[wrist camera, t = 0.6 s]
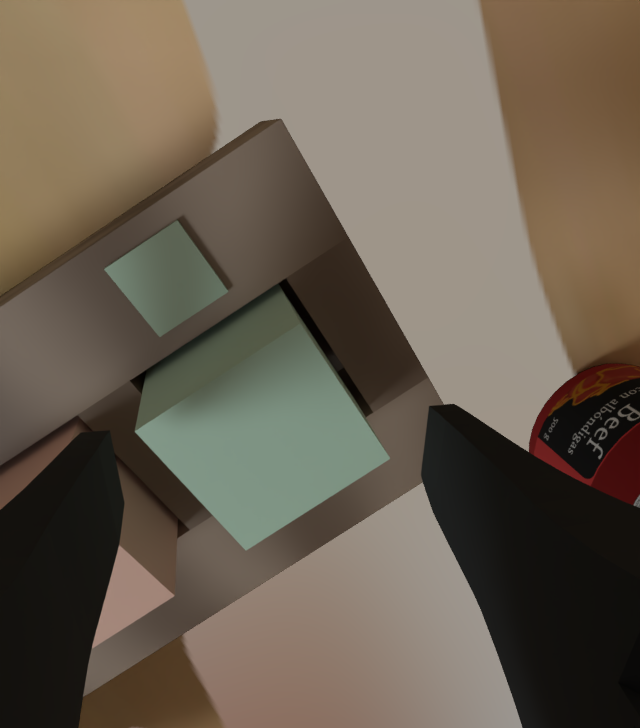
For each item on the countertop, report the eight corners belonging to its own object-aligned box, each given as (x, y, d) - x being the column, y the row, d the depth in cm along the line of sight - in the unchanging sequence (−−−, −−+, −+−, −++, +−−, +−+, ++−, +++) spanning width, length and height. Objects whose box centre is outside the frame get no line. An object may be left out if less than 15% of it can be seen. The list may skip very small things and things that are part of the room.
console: (-34, 683, 26) (-85, 807, 21) (-313, 506, 20) (-467, 620, 15) (420, 393, 25) (473, 454, 20) (260, 121, 19) (282, 118, 14)
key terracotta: (64, 584, 20) (35, 685, 16) (-46, 495, 18) (-106, 588, 14) (178, 511, 20) (174, 595, 16) (82, 412, 18) (53, 484, 14)
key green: (236, 473, 20) (245, 550, 16) (146, 369, 18) (134, 431, 14) (353, 398, 20) (390, 458, 16) (278, 283, 17) (300, 323, 14)
